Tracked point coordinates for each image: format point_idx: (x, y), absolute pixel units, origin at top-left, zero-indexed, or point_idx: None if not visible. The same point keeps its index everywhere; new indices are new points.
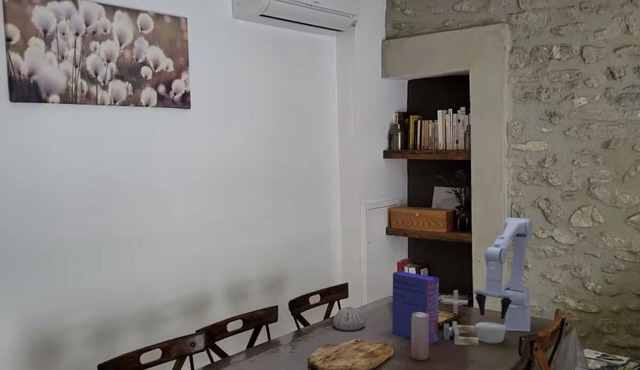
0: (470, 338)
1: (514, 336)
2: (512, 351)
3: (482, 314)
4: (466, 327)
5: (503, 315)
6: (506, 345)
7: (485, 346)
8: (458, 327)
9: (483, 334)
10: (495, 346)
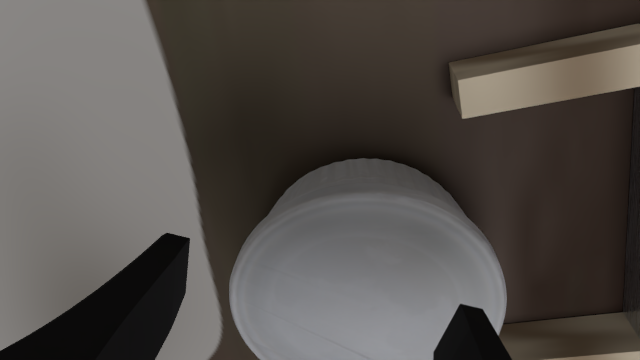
0: (543, 64)
1: (222, 339)
2: (156, 19)
3: (460, 319)
4: (560, 353)
5: (132, 266)
6: (232, 152)
7: (387, 67)
8: (627, 344)
9: (416, 185)
10: (307, 98)
